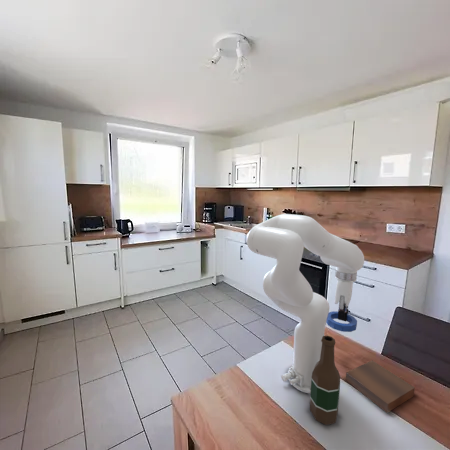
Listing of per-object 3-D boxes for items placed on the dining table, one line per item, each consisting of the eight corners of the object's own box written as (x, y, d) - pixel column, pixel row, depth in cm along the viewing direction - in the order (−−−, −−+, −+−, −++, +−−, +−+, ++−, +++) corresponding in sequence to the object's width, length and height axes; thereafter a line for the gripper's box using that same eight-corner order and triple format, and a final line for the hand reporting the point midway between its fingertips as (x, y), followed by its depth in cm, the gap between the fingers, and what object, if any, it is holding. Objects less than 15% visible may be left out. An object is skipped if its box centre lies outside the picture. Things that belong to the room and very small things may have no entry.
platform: (387, 413, 72) (388, 404, 71) (345, 380, 84) (346, 372, 84) (414, 396, 78) (415, 387, 77) (371, 367, 90) (372, 360, 90)
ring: (343, 334, 87) (343, 328, 87) (320, 320, 97) (320, 314, 96) (362, 327, 92) (363, 321, 91) (338, 314, 101) (339, 309, 101)
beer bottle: (341, 428, 67) (347, 348, 63) (311, 423, 68) (316, 345, 65) (334, 404, 74) (339, 332, 71) (307, 400, 76) (311, 329, 73)
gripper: (339, 267, 104) (336, 308, 106) (331, 279, 91) (328, 324, 94) (359, 271, 99) (355, 313, 102) (353, 283, 87) (350, 331, 89)
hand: (342, 318), depth 98 cm, fingers closed on ring, 2 cm apart
